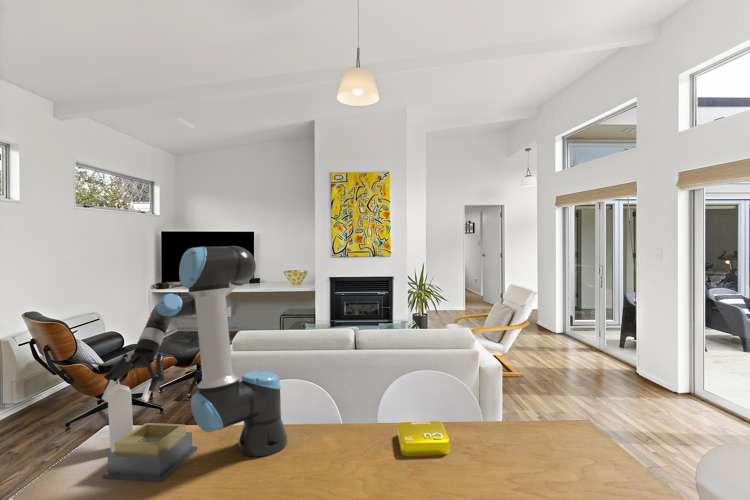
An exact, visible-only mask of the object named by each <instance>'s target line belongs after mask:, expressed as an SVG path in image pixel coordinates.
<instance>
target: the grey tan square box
mask: <svg viewBox="0 0 750 500" xmlns="http://www.w3.org/2000/svg"><path fill="white" fill-rule="evenodd" d="M197 450H198V446H193V432H192V431H191V432H189V431H186V424H181V423H179V424H178V423H159V422H156V423H154V422H145V423H144V424H142V425H141V426H139V427H137V428H136V429H135V430H134V429H133V432H131V433H130V434H128V435H127V436H125V437H124V438H122V439H120V440H119V441H117V442H116V443H115V451H114V452H112V453H109V454H108V455H107V469H108V470H107V471H106V472H104V473H103V474H102V479H109V480H111V479H112V480H122V481H123V480H124V481H125V480H127V481H138V482H139V481H140V482H141V481H142V482H153V483H155V482H157V483H162V482H163V481H164V480H165V479H166V478H167V477H168V476H170V475H171V473H173V472H174V471H175V470H176V469H177V468H179V467H180V465H182V464H183V463H185V461H186V460H188V459H189V458H190V457H191V456H193V454H194V453H196V451H197Z"/></svg>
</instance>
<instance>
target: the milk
mask: <svg viewBox="0 0 750 500" xmlns="http://www.w3.org/2000/svg"><path fill="white" fill-rule="evenodd" d="M132 401H133V400H132V390H131V388H130V386H127V385H124V384H121V382H120V379H118V380H117V384H116V385H115V386H114V387H112V388H111V389H110V390H108V402H107V408H108V429H109V431H108V432H109V450H110V452H111V453H112V452H114V451H115V443H116V442H117V441H119V440H120V439H122V438H124V437H125V436H127V435H128V434H130V433H131V432H133V431H134V427H133V425H134V424H133V405H132V404H133V403H132ZM111 453H110V454H111Z"/></svg>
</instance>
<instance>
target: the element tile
mask: <svg viewBox="0 0 750 500" xmlns="http://www.w3.org/2000/svg"><path fill="white" fill-rule="evenodd" d="M397 439H398V444H399V449H400V451H399V452H400V454H401V455H402V456H404V457H422V456H425V457H426V456H445V455H449V454H450V453H451V452H450V451H451V448H450V444H451V443H450V438H449V435H448V433H447V430H446V429H445V426H444V424H443V423H442V422H441V421H439V420H437V421H435V420H434V421H433V420H432V421H408V422H407V421H406V422H399V423H398V424H397Z"/></svg>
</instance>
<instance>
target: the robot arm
mask: <svg viewBox="0 0 750 500" xmlns="http://www.w3.org/2000/svg"><path fill="white" fill-rule="evenodd" d="M178 268H179V271H178V274H179V277H178V278H179V281H180V285H181V286H182V287H183V288H187V289H188V294H189V295H187V296H179V295H178V294H174V293H167V294H165V295H163V296H162V297H161V298H160V300H158V302H157V303H156V305H154V307H153V309H152V310H151V312H150V315H149V317H148V320H147V321H146V324H145V327H144V328H143V330H142V332H141V334H140V336H139V338H138V341H137V342H136V343H137V344H136V345H135V346H134V350H133V353H132V355H129V354H127V353H124V354H123V355H122V357H121V358H120V359H119V361H117V363H116V364H115V365H114V366H113V367H112V368H110V370H109V371H108V372H107V373H106V374H105V375H104V376H103V377H104V379H105V380H106V381H107V382H106V384H105V386H104V392H103V395H102V396H101V400H103V401H104V402H105V403H108V390H110V389H111V388H112V387H114V386H115V385H117V384H118V380H120V379H121V378H122V377H123V376H125V375H127V373H129V372H130V371H133V370H134V369H145V368H146V369H147V372H148V374H149V376H150V378H151V379H148V381H147V384H146V386H145V388H144V391H143V393H142V396H141V400H142V401H143V402H144V403H147V402H148V401H149V398H150V397H151V393H152V392H154V391H155V388H156V387H157V384H158V383H159V382H164V381H165V372H164V366H163V365H164V364H163V363H164V358H165V357H164V356H163V355H162V354H161V353H159V350H160V348H161V347H160V346H161V345H162V343H163V341H164V338H165V336H166V333H167V331H168V329H169V326H170V324H171V323H172V322H173V320H175V319H177V318H184V317H191V316H196V323H197V325H196V326H197V334H198V348H199V356H200V367H201V369H200V370H201V375H202V376H201V377H202V378H201V381H200V382H199V383H198V385H197V392H196V393H194V394H193V395H192V396H191V401H190V407H191V413H192V416H193V418H194V421H195V422H196V424H197V426H198V427H199V428H200V429H201V430H202V431H203V432H205V433H213V432H217V431H222V430H223V429H226V428H228V427H231V426H233V425H236V424H239V423H242V422H243V425H242V429H241V432H240V436H239V440H238V450H239V453H241V454H242V455H244V456H249V457H265V456H269V455H273V454H275V453H278V452H280V451H281V450H283V449H284V448H285V447H286V446H287V444H288V433H287V430H286V428H285V425H284V422H283V421H282V410H281V409H282V407H281V406H282V405H281V403H282V401H281V389H282V388H281V381H280V377H279V375H277V374H276V373H274V372H270V371H250V372H245V373H243V375H241V381H240V380H239V377H238V376H237V375H235V374H234V372H233V361H232V351H231V343H230V332H229V323H228V322H229V321H228V311H227V302H226V299H227V298H226V297H227V296H228V295H229V294H231V293H232V292H233V291H234V290H235V289H236V288H238V287H241V286H244V285H246V284H247V283H248V282H249V281H250V280H251V279H253V277H254V275H255V273H256V269H257V263H256V260H255V258H254V255H252V253H251V252H250V251H248V250H247V249H246V248H244V247H242V246H239V245H238V246H236V245H228V246H222V245H221V246H197V247H190V248H188V249H187V250H185V252H184V253H183V255H182V256H181V259H180V263H179V267H178ZM154 361H155V364H156V371H155V370H154V366H153V364H152V363H153V362H154ZM156 373H157V375H156Z"/></svg>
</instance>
